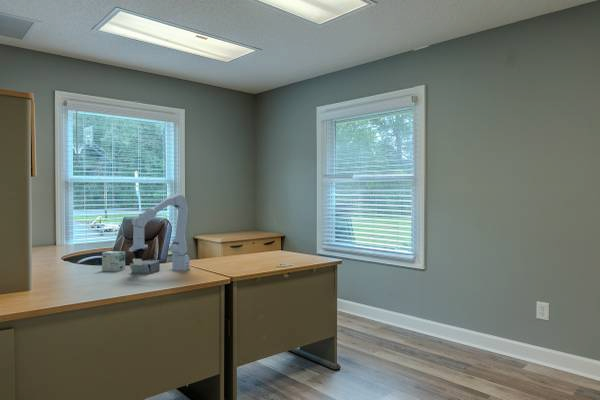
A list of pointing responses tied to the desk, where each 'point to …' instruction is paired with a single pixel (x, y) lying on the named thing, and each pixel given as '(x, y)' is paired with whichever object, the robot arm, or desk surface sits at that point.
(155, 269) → the carton
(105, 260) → the light bulb box
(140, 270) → the carton flap
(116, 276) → the desk surface
